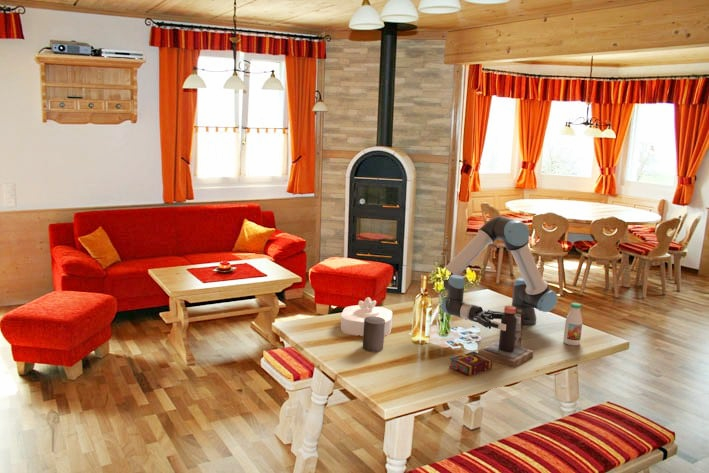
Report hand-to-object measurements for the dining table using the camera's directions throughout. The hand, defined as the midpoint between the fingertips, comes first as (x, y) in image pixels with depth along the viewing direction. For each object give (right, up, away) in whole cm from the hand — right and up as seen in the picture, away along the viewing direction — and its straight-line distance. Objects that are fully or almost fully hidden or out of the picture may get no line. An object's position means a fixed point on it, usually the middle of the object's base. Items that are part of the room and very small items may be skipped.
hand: (513, 324), depth 279 cm
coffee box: (+6, -12, +22) cm, 26 cm away
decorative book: (-21, -18, -10) cm, 30 cm away
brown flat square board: (-2, -15, +5) cm, 16 cm away
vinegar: (-2, -12, +4) cm, 13 cm away
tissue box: (-65, -7, +34) cm, 74 cm away
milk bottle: (+35, -13, +25) cm, 45 cm away
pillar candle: (-63, -12, +8) cm, 64 cm away
